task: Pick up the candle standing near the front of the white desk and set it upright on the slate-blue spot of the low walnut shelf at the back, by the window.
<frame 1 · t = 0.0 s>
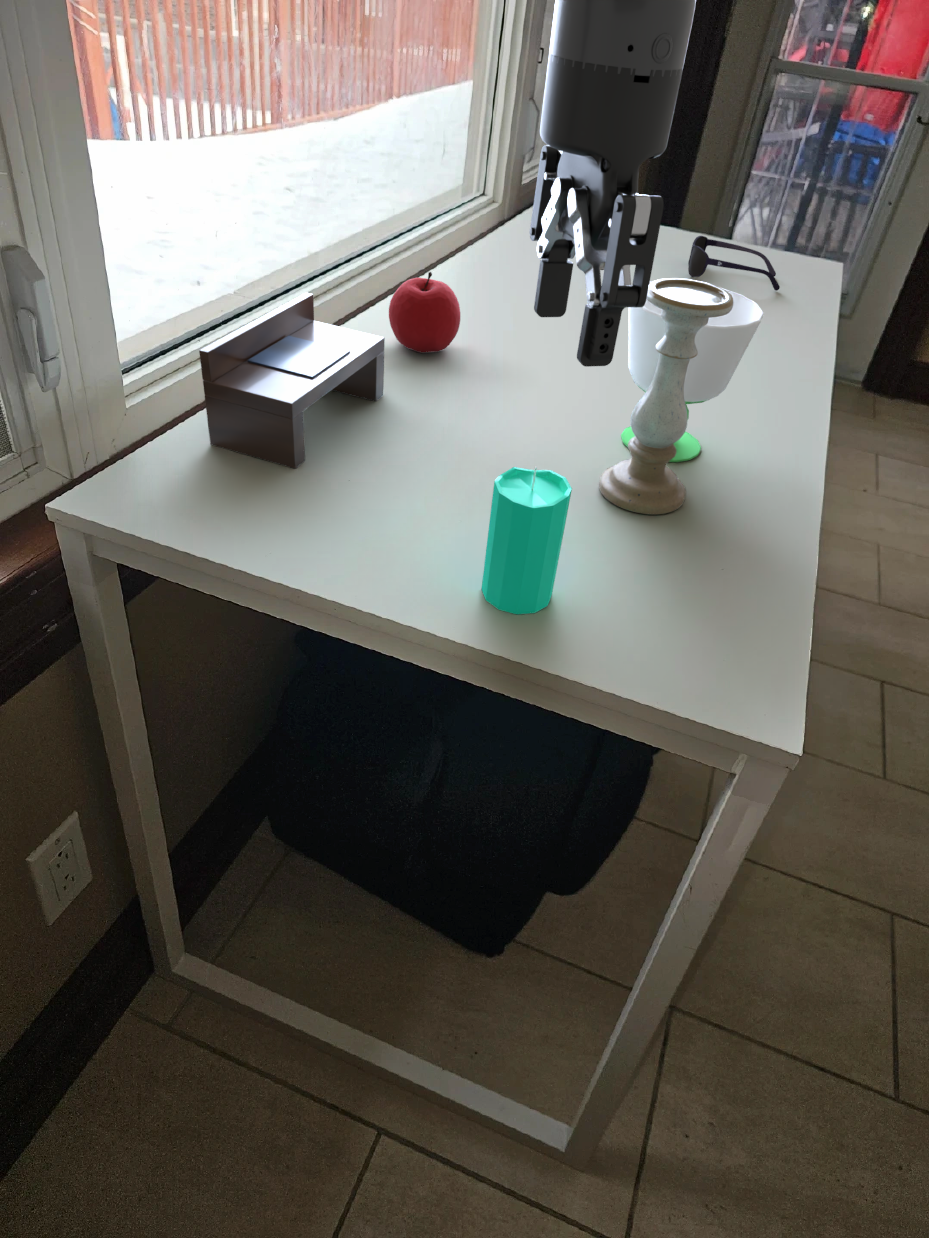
hand: (570, 338, 57), 22 cm above the table, tool pointing down, fingers open, 8 cm apart
sunglasses: (731, 278, 147), on the table
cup: (660, 444, 95), on the table
apple: (423, 349, 111), on the table
candle: (516, 594, 71), on the table
shelf: (302, 418, 92), on the table
candle holder: (640, 494, 86), on the table
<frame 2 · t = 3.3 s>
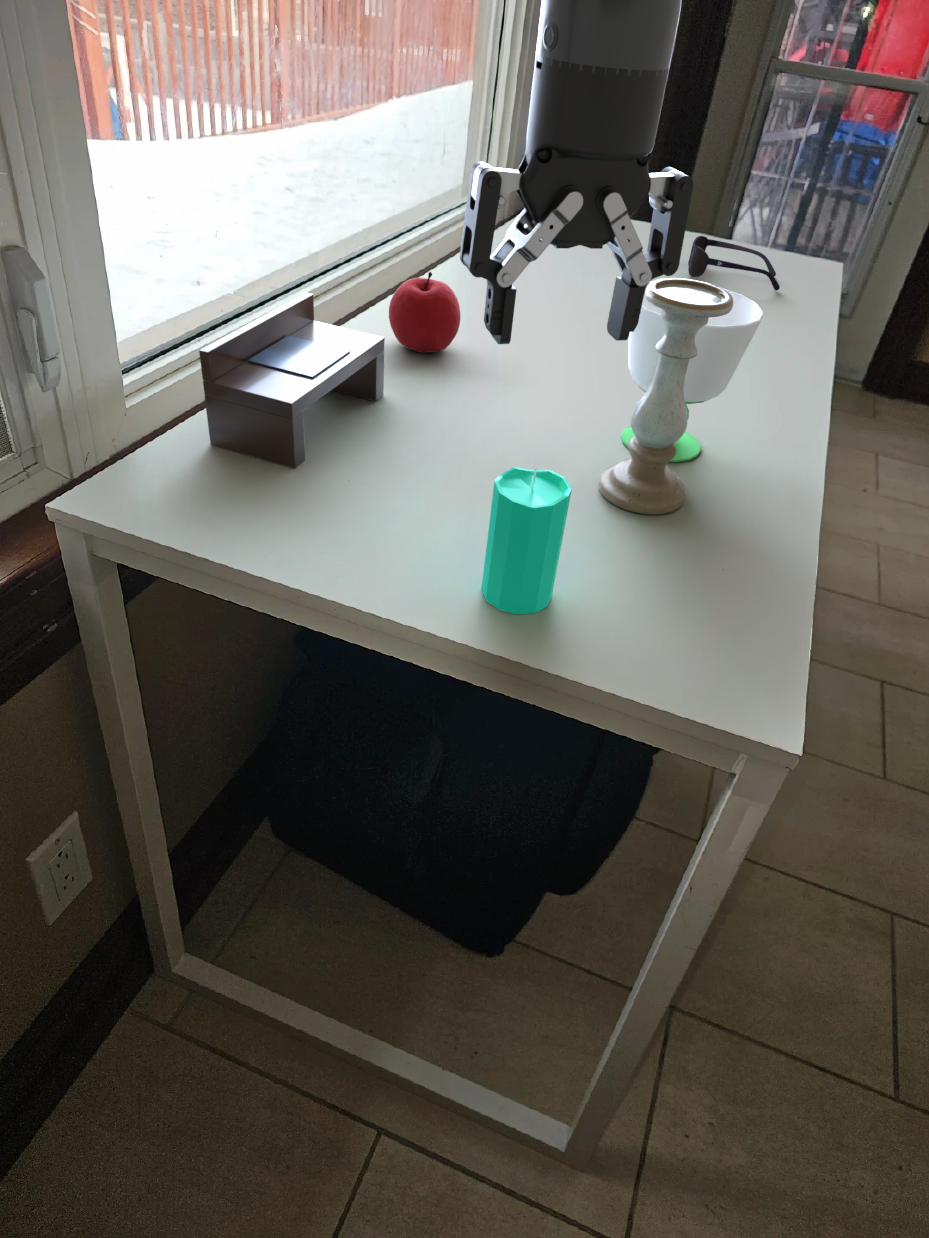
hand: (559, 338, 57), 22 cm above the table, tool pointing down, fingers open, 8 cm apart
nothing on the table moved.
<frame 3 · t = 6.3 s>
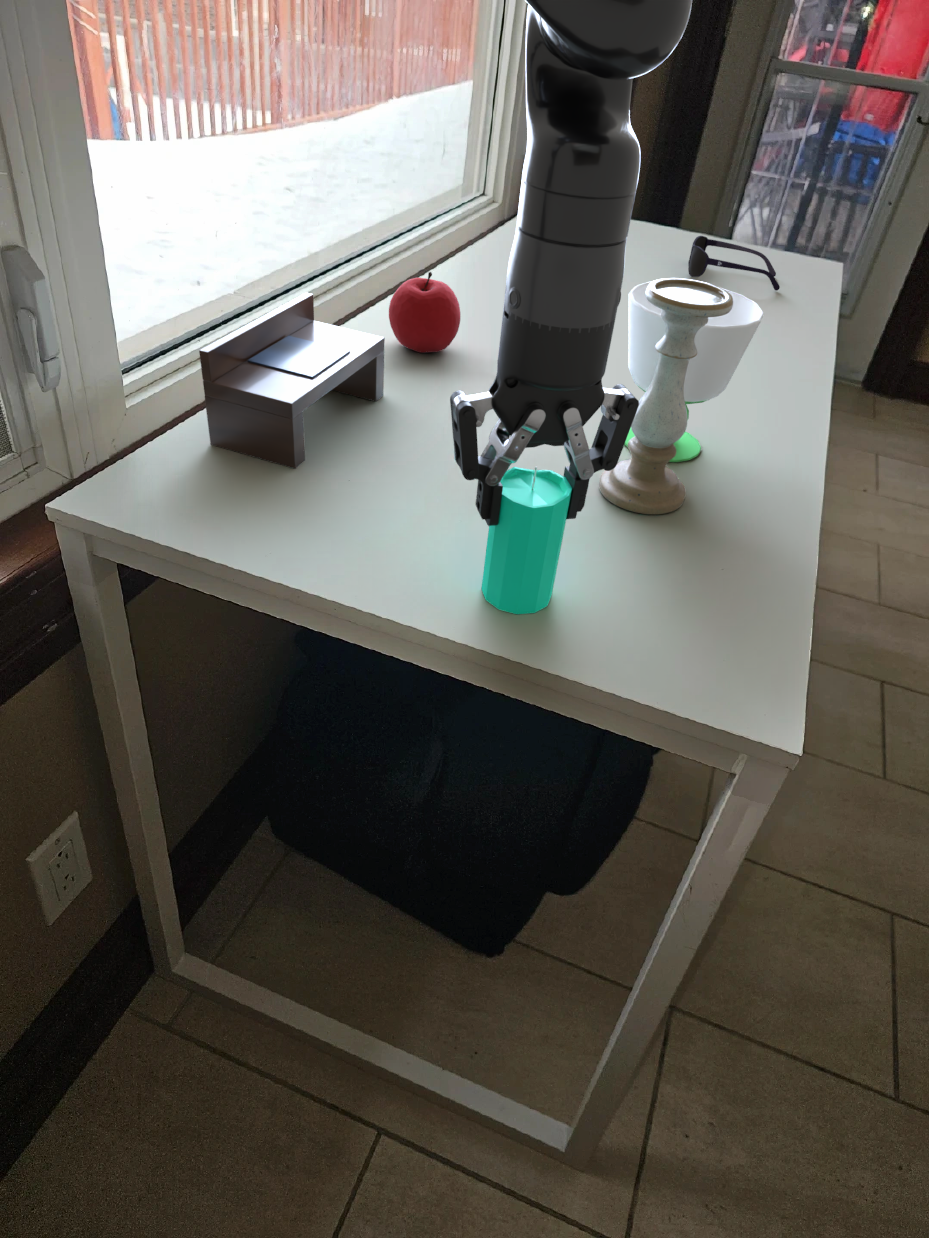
hand: (528, 516, 66), 8 cm above the table, tool pointing down, fingers closed on candle, 6 cm apart
candle: (516, 594, 71), on the table, touching gripper
everything else where it was.
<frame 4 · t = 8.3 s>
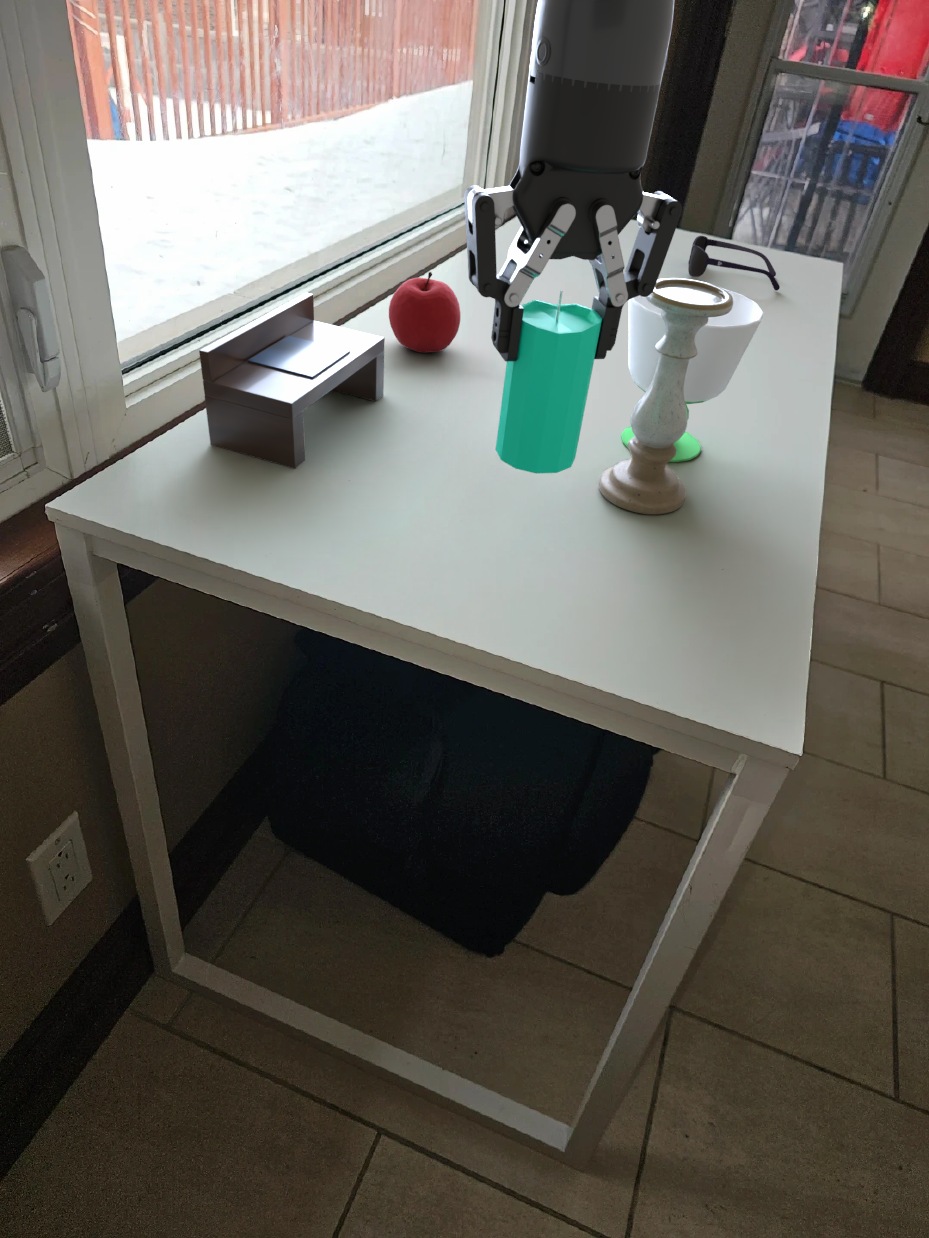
hand: (551, 355, 58), 21 cm above the table, tool pointing down, fingers closed on candle, 6 cm apart
candle: (535, 456, 63), point 13 cm above the table, touching gripper
everything else where it was.
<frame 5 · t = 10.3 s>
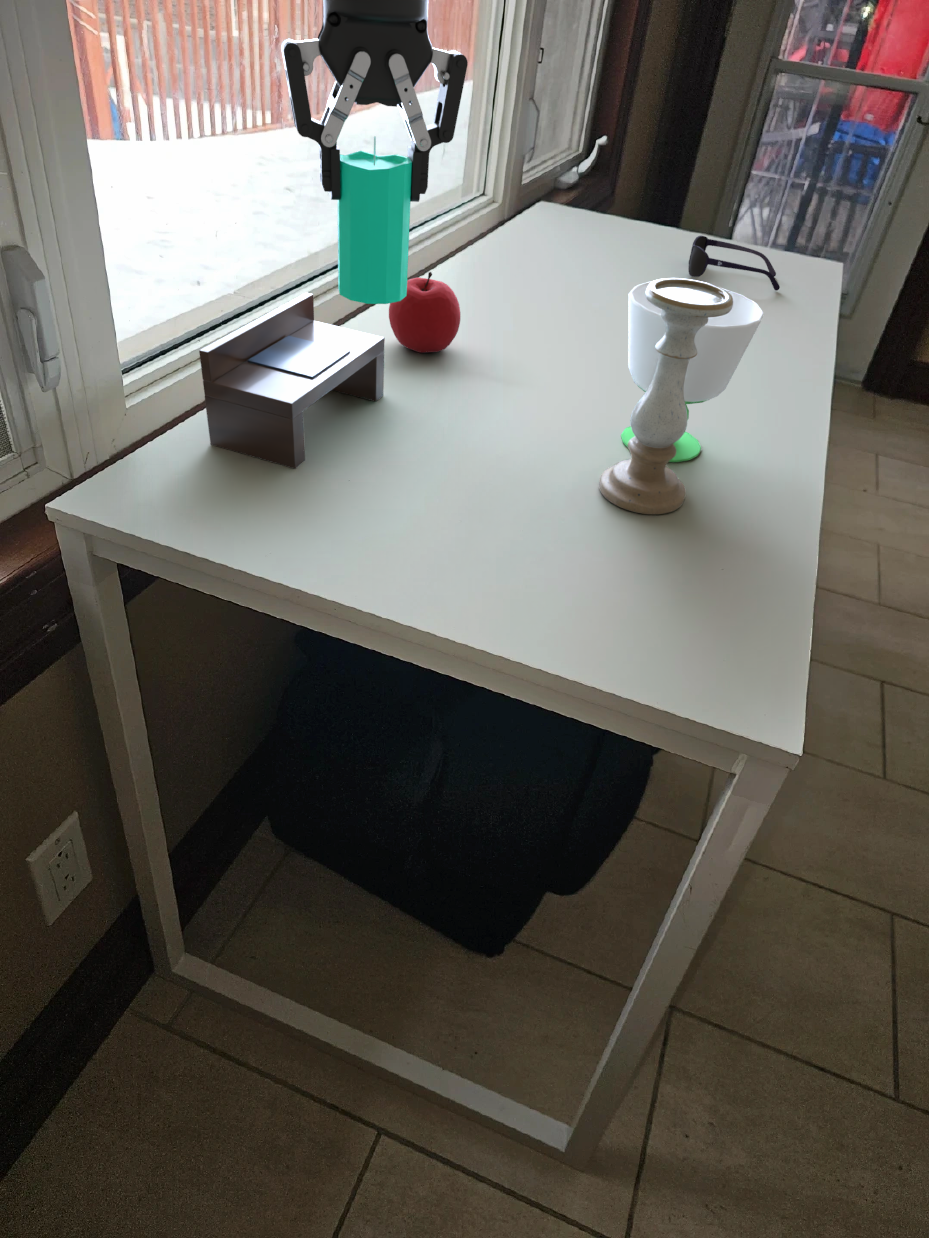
hand: (373, 197, 68), 26 cm above the table, tool pointing down, fingers closed on candle, 6 cm apart
candle: (372, 294, 73), point 18 cm above the table, touching gripper
everything else where it was.
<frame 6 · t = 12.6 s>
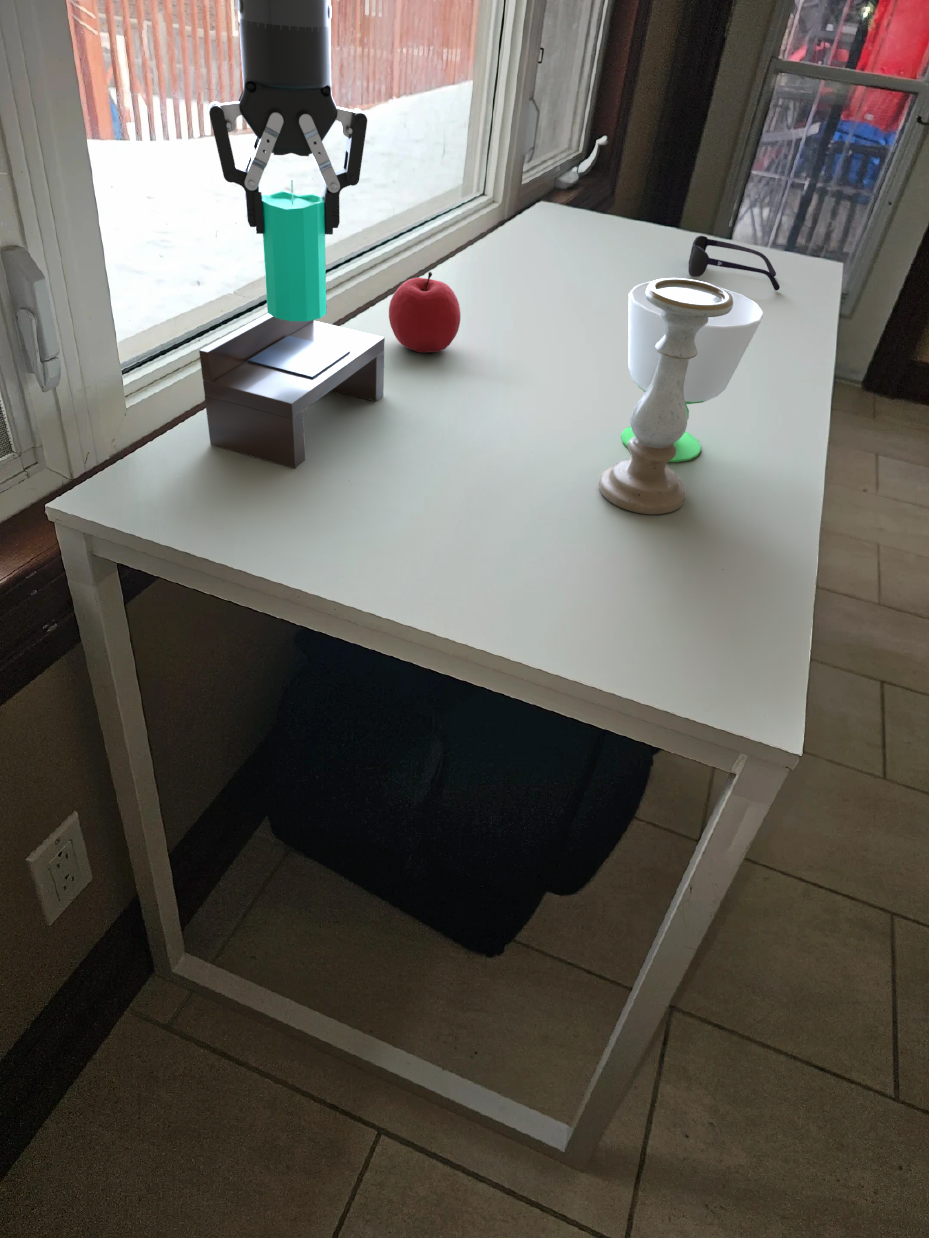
hand: (293, 231, 80), 19 cm above the table, tool pointing down, fingers closed on candle, 6 cm apart
candle: (296, 312, 85), point 12 cm above the table, touching gripper
everything else where it was.
when the fingers open (15 cm above the table, at t = 14.3 s): candle stays where it is, resting on shelf.
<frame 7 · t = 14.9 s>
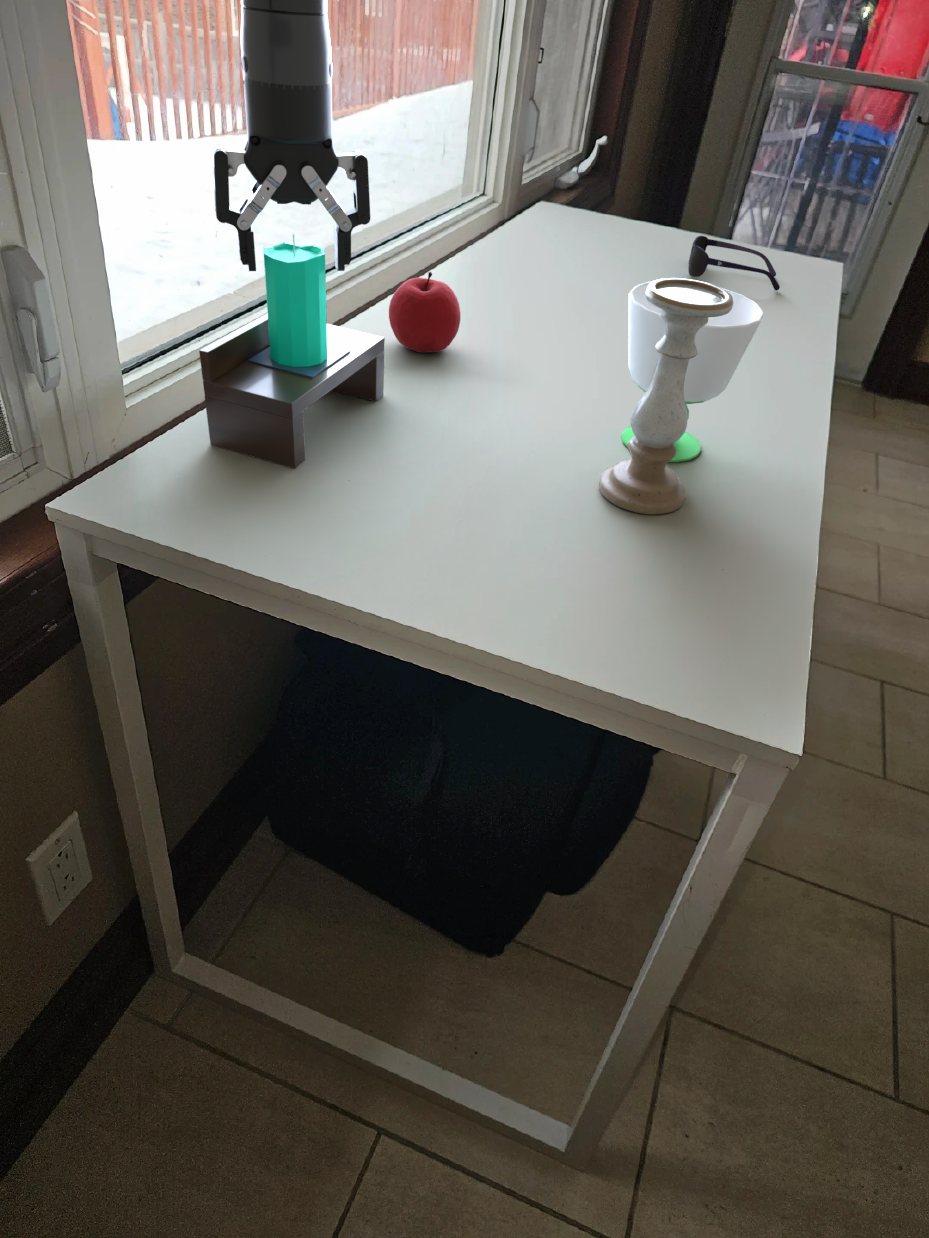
hand: (296, 269, 82), 16 cm above the table, tool pointing down, fingers open, 8 cm apart
candle: (298, 357, 88), point 7 cm above the table, touching shelf
everything else where it was.
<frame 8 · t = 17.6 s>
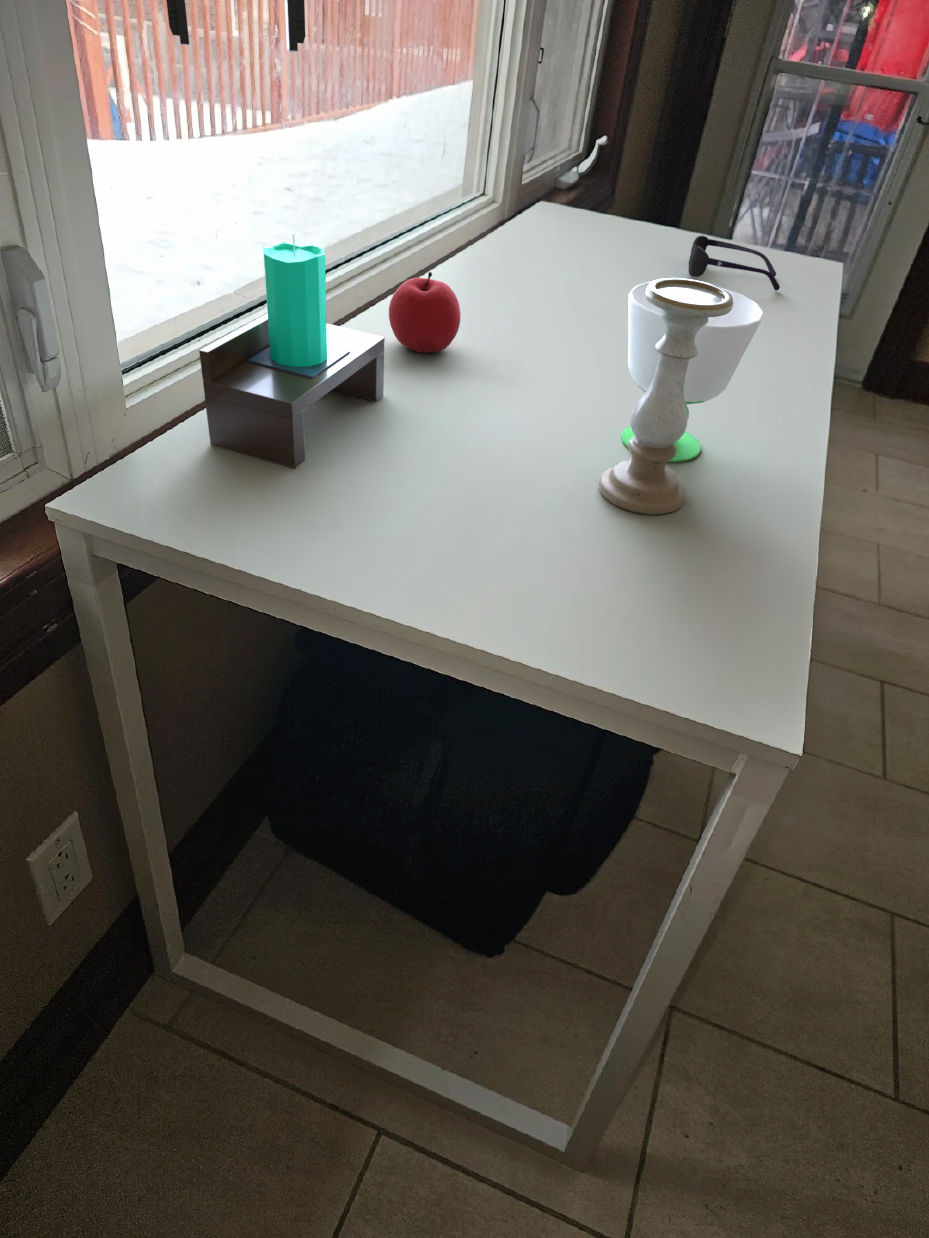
hand: (239, 47, 68), 34 cm above the table, tool pointing down, fingers open, 8 cm apart
nothing on the table moved.
at the end: candle inside the target area on the shelf (0.1 cm from its centre), point 7.0 cm above the shelf's base; candle tilted 0° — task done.
